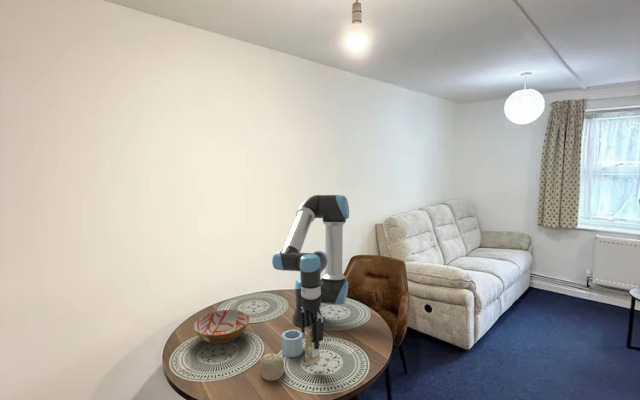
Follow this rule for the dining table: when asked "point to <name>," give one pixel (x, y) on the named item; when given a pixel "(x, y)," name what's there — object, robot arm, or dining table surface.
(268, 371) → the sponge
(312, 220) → the robot arm
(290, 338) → the jar
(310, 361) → the tan bar
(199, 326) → the bowl
